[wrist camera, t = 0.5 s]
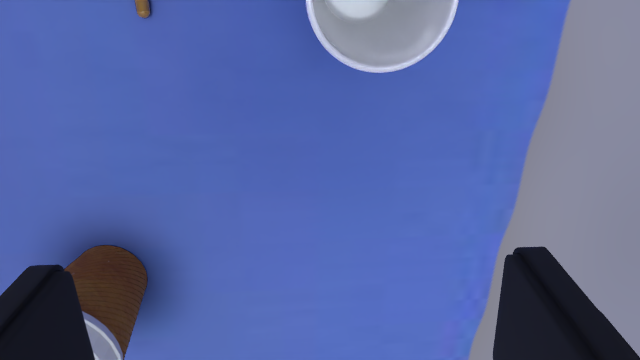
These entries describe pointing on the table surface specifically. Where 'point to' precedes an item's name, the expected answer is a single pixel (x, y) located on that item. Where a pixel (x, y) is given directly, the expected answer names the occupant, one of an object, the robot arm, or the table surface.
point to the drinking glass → (380, 30)
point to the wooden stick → (142, 8)
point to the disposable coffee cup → (109, 297)
